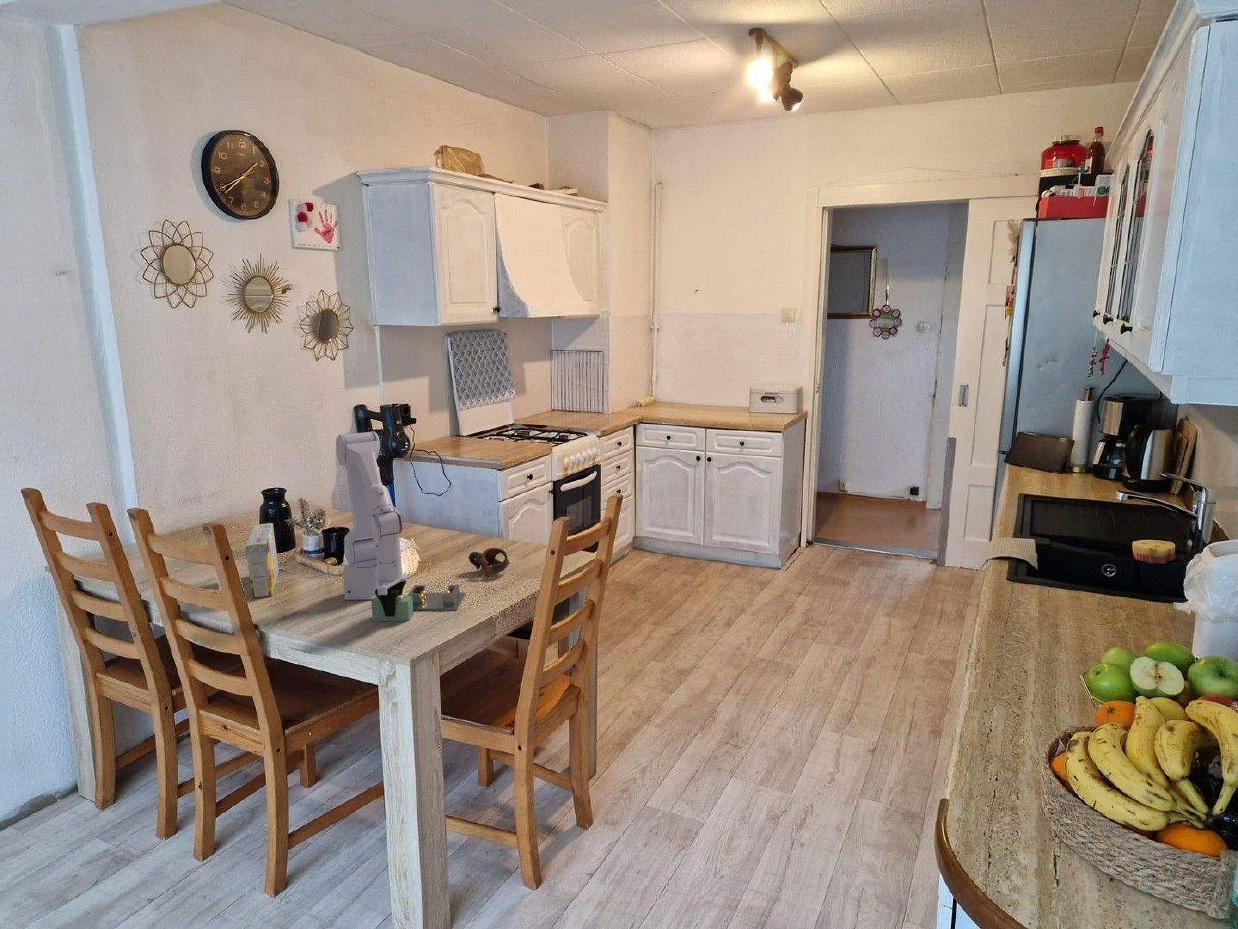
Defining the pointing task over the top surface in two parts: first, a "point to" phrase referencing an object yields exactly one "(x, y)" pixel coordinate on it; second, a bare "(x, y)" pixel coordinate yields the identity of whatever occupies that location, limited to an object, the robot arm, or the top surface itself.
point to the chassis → (436, 598)
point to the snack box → (262, 560)
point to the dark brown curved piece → (489, 561)
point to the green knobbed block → (401, 614)
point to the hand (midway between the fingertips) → (392, 612)
